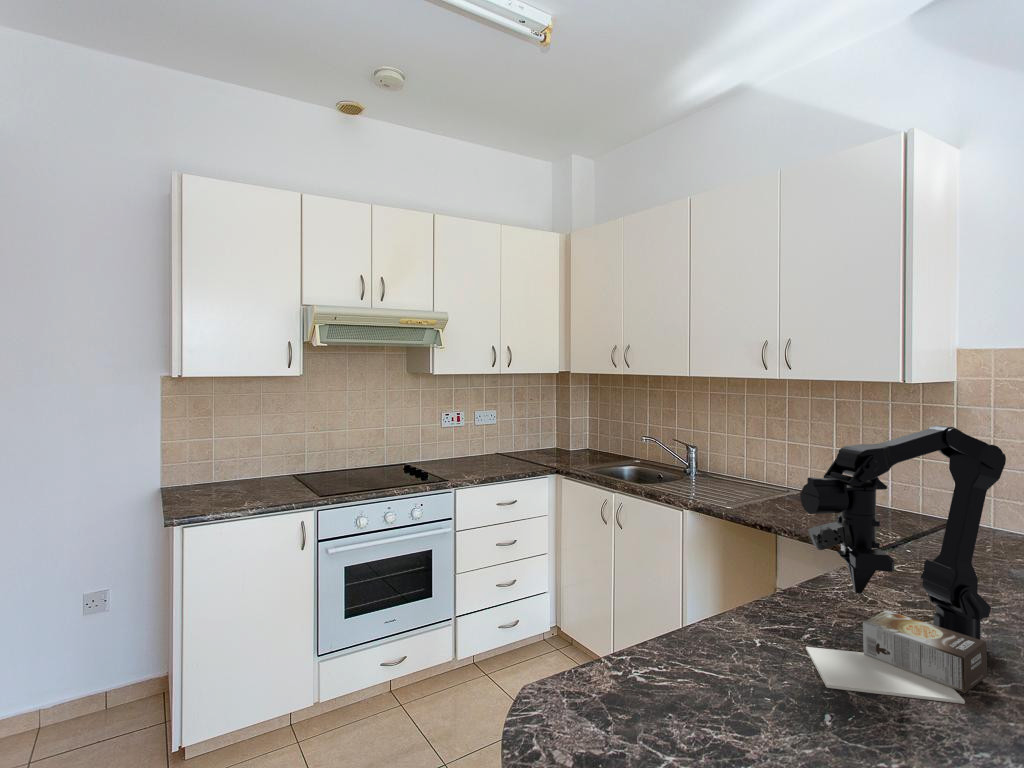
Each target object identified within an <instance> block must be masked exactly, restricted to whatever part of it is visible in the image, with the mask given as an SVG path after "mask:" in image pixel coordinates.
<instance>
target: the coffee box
mask: <svg viewBox="0 0 1024 768" xmlns="http://www.w3.org/2000/svg"><path fill="white" fill-rule="evenodd" d="M862 643H863V646H862V647H863V653H864V654H866V655H869V656H871V657H874V658H877V659H879V660H882V661H884V662H887V663H889V664H892V665H895V666H897V667H900V668H902V669H905V670H907V671H910V672H912V673H915V674H918V675H920V676H923V677H925V678H928V679H930V680H933V681H936V682H938V683H941V684H943V685H946V686H948V687H951V688H953V689H954V690H955V691H958V692H961V693H963V694H966V693H968V692H969V691H970V690H971V689H973V688H974V687H975V686H977V685H978V684H980V683H981V682H983V680H985V679H986V678H987V677H988V656H987V654H988V653H987V641H985V640H982V639H981V640H979V639H976V638H973V637H970V636H967V635H963V634H960V633H957V632H954V631H951V630H948V629H944V628H941V627H938V626H935V625H934V624H931V623H929V622H924V621H922V620H918V619H915V618H911V617H909V616H906V615H903V614H899V613H897V612H894V611H890V610H884V611H882V612H880V613H879V614H876V615H875V616H873V617H871V618H869V619H867V620H865V621H863V622H862Z"/></svg>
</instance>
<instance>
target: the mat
mask: <svg viewBox="0 0 1024 768" xmlns="http://www.w3.org/2000/svg"><path fill="white" fill-rule="evenodd" d="M805 650H806V652H807V655H808V656H809V659H810V660H811V661H812V663H813V665H814V667H815V669H816V670H817V672H818V674H819V676H820V678H821V680H822V681H823V683H824V685H825V687H826V688H827V689H836V690H845V691H853V692H861V693H869V694H870V693H871V694H876V695H877V694H879V695H886V696H895V697H903V698H904V697H905V698H912V699H919V700H920V699H921V700H930V701H938V702H946V703H955V704H962V705H963V704H964V705H965V704H966V701H965V699H964V698H963V697H962V696H961V695H960V694H959V693H958V691H957V690H956V689H953V688H951V687H948V686H946V685H943V684H941V683H938V682H936V681H933V680H930V679H928V678H925V677H923V676H920V675H918V674H915V673H912V672H910V671H907V670H905V669H902V668H900V667H897V666H895V665H892V664H889V663H887V662H884V661H882V660H879V659H877V658H874V657H871V656H869V655H866V654H864V652H859V651H852V650H851V651H850V650H843V649H842V650H841V649H832V648H831V649H830V648H821V647H812V646H805Z"/></svg>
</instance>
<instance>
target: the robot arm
mask: <svg viewBox="0 0 1024 768" xmlns="http://www.w3.org/2000/svg"><path fill="white" fill-rule="evenodd" d="M935 452H939V454H941V455H943V456H944V457H946V458H947V459H949V463H948V464H949V465H948V466H949V467H948V468H949V472H950V474H951V476H952V479H953V482H954V489H953V493H952V497H951V501H950V502H951V503H950V508H949V511H948V517H947V521H946V524H945V529H944V535H943V538H942V539H943V540H942V543H941V544H942V545H941V548H940V552H939V554H938V555H937V556H936V557H935V558H934V559H933V560H931V559H928V558H927V559H925V561H924V562H923V571H922V574H921V575H920V577H919V578H920V579H922V588H923V589H924V591H925V592H926V593H927V596H928V599H929V602H930V603H932V604H935V605H936V612H934V613H933V625H935V626H938V627H941V628H944V629H948V630H951V631H954V632H957V633H960V634H963V635H967V636H970V637H973V638H976V639H979V640H982V639H981V638H982V637H981V635H982V634H981V632H982V631H981V628H982V627H981V625H982V620H983V619H987V618H989V616H990V613H991V610H992V607H991V605H990V604H989V603H988V602H987V601H986V600H985V599H984V598H983V597H982V596H981V595H980V594H979V593H978V587H979V585H978V584H979V579H978V576H977V573H976V571H975V568H974V565H973V557H974V551H975V547H976V543H977V538H978V533H979V529H980V526H981V525H980V524H981V519H982V514H983V511H984V505H985V501H986V497H987V493H988V490H989V489H990V488H991V487H993V486H994V485H995V484H996V483H997V482H998V481H1000V479H1001V477H1002V473H1003V471H1004V469H1005V465H1006V462H1007V461H1006V460H1007V457H1006V454H1005V453H1004V452H1003V450H1002V448H1000V447H999V446H997V445H996V444H990V443H987V442H986V441H983V440H980V439H978V438H976V437H973V436H971V435H968V434H966V433H965V432H964V431H962V430H960V429H957V428H956V427H955V426H954V427H953V426H948V425H947V426H946V425H932V426H929V427H928V428H926V429H923V430H920V431H917V432H913V433H909V434H906V435H903V436H900V437H896V438H894V439H891V440H886V441H883V442H881V443H880V442H879V443H865V444H863V443H861V444H851V445H845V446H843V447H841V448H840V449H839V450H838V452H837V455H836V458H835V459H834V460H833V462H832V463H831V465H830V466H829V468H828V469H827V471H826V472H825V473H824V475H823V477H811V476H810V477H807V483H806V484H804V486H802V489H801V492H800V493H799V495H800V503H801V506H802V508H803V509H804V511H805V512H806V513H807V514H810V515H817V514H838V515H836V521H835V522H830V523H825V524H821V525H816V526H812V527H810V528H808V529H807V531H808V534H809V537H810V538H811V541H812V544H813V546H814V547H815V548H816V549H817V550H819V551H823V550H824V551H825V550H826V549H828V548H830V547H834V546H839V545H840V550H836V553H837V554H838V555H839V556H840V558H842V559H843V560H844V561H845V562H846V566H847V570H848V572H849V576H850V577H849V578H850V580H851V584H852V588H853V591H854V592H855V594H863V592H864V591H865V588H866V587H867V586H868V584H869V582H870V580H871V579H872V577H873V575H874V574H875V573H876V572H877V571H878V572H891V573H893V572H894V571H895V560H894V559H893V558H892V557H891V556H890V554H887V552H885V551H883V549H880V548H881V547H880V546H881V545H880V542H879V541H877V527H881V523H880V520H878V518H877V491H878V490H879V491H880V490H883V491H884V490H887V489H888V486H887V485H886V484H885V483H884V482H882V481H881V479H880V477H881V476H883V475H885V474H887V472H889V471H890V470H891V469H892V467H893V466H895V465H897V464H899V463H903V462H906V461H910V460H913V459H915V458H919V457H922V456H926V455H928V454H931V453H935Z"/></svg>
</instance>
